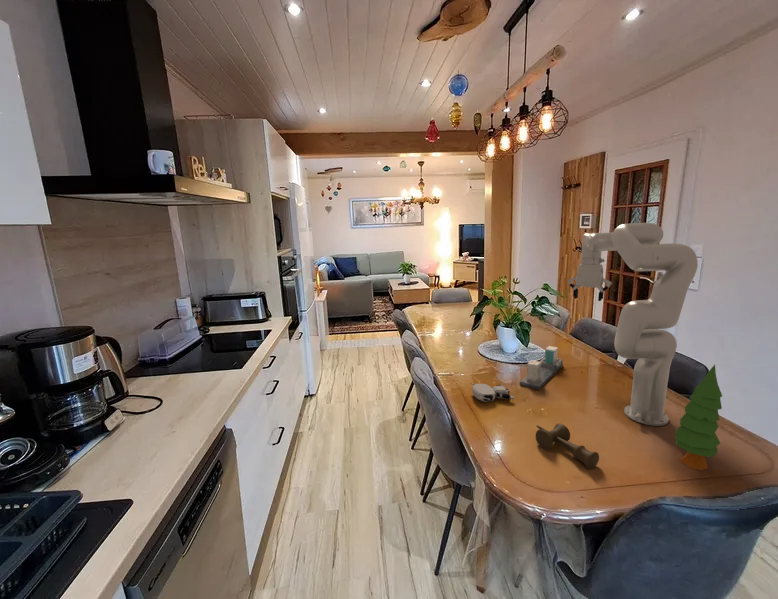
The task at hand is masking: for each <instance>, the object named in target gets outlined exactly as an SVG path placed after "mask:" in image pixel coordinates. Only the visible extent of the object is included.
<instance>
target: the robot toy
mask: <svg viewBox="0 0 778 599" xmlns="http://www.w3.org/2000/svg"><path fill="white" fill-rule="evenodd" d="M469 384H470V385H472V388H471V392H472V395H473V396H474V397H475V398H476V399H478V400H479V401H481V402H483V403H487V402H493V401H494V400H495V399H500V398H504V399H505V400H507V401H508V400H510V399H511V400H515V396H514V395H511V394H510V393H511V392H510V390H509V389H508V388H507V387H505V385H503V384H497V385H495V386H490V385H489V384H487V383H469Z"/></svg>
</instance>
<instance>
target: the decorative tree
mask: <svg viewBox="0 0 778 599" xmlns="http://www.w3.org/2000/svg"><path fill="white" fill-rule="evenodd" d="M716 372H717V371H716V364H714V365H713V366H711V368H710V369H709V370H708V372H707V373H706V375H705V376H704V378H703V379H702V380H701V381H700V383H699V384H697V386H696V387H695V388H694V391H693V393H692V394H691V395H690V396H689V399H690V400H689V402H688V403H687V404H686V406H685V407H684V412H685V413H684V414H683V415H682V416H681V418H680V420H679V427H678V428H677V429H676V430H675V435H674V439H675V441H676V442H675V445H676V446H678V447H679V448H681V449H683V450H684V451H686V452H687V453H685V454H684V455H683V456H682V457H681V458H680V459H679V462H681V463H682V464H684V465H686V466H687V467H689V468H690V469H693V470H699V471H703V470H707V469H709V467H708V463H707V460H706V459H707V458H711V457H713V456H715V455H717V454H719V451H718V448H717V446H719V445H721V441H720V440H719V438H718V435H717V433H716V432H717V430H718V429H719V425H718V421H720V415H719V410H722V408H723V407H722V402H721V401H722V400H721V398H722V397H723V394H722V392H721V389H720V386H719V383H718V379H717V373H716ZM706 457H707V458H706Z"/></svg>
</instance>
